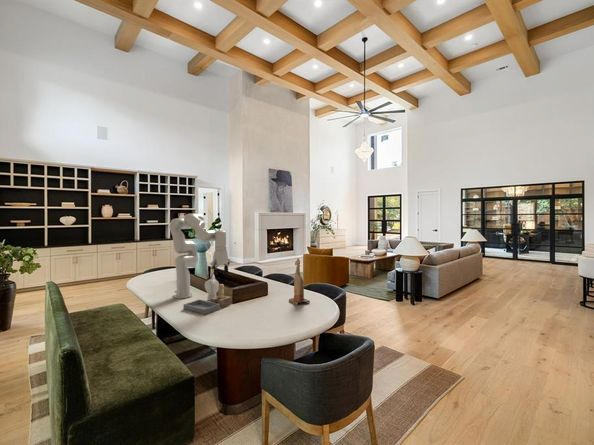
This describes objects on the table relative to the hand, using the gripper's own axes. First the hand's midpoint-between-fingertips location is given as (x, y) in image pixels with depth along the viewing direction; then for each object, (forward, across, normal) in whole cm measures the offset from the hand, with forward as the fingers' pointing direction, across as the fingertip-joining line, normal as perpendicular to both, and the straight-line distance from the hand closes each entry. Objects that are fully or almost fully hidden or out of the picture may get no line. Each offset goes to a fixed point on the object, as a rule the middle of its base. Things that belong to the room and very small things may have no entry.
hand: (221, 273), depth 201 cm
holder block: (+22, 0, 0) cm, 22 cm away
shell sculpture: (+22, -5, -14) cm, 27 cm away
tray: (+22, +14, -4) cm, 26 cm away
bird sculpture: (+23, -32, +44) cm, 59 cm away
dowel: (+22, 0, 0) cm, 22 cm away
